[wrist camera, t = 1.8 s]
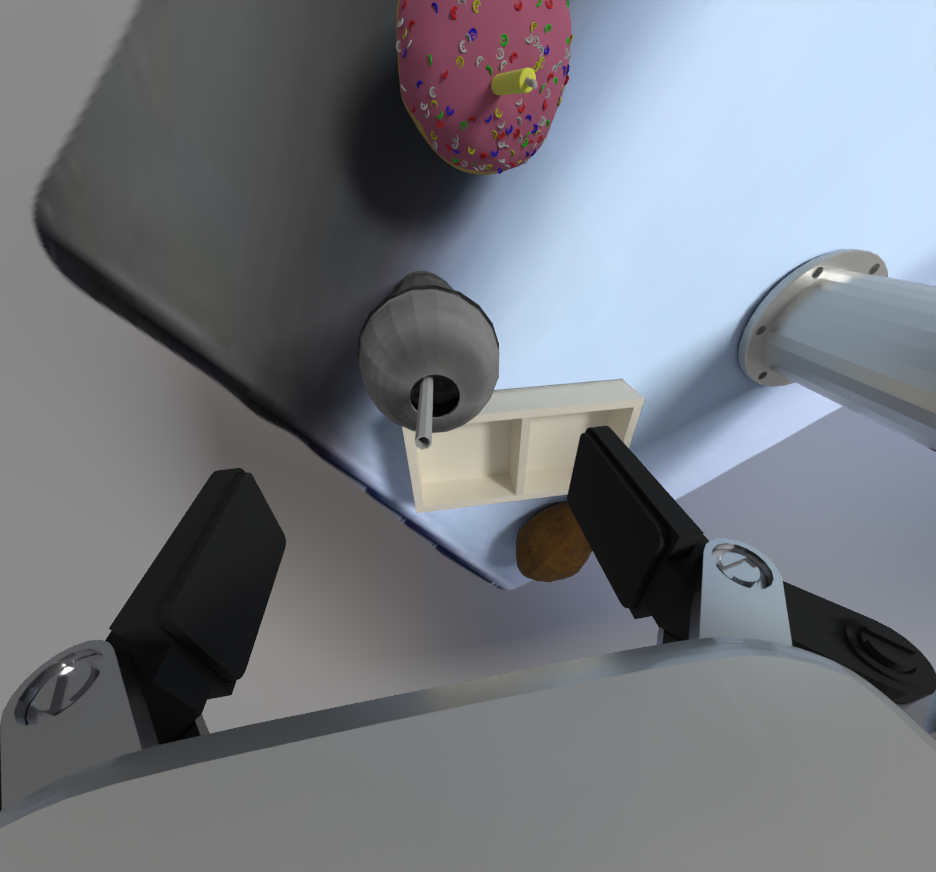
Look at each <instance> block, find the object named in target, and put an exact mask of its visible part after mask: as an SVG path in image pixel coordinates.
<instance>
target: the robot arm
mask: <svg viewBox="0 0 936 872" xmlns="http://www.w3.org/2000/svg"><path fill="white" fill-rule="evenodd" d="M738 356H739V364H740V367H741V369H742V371H743V373H744V374H745V375H746V376H747V377H748V378H750V379H752V380H753V381H755V382H757V383H759V384H762V385H764V386H773V387H774V386H784V385H788V384H792V383H798V384H800V385H802V386H804V387H806V388H808V389H810V390H812V391H814V392H816V393H818V394H820V395H822V396H824V397H826V398H828V399H830V400H832V401H834V402H836V403H838V404H840V405H842V406H844V407H846V408H848V409H850V410H852V411H854V412H856V413H858V414H860V415H862V416H864V417H867V418H868V419H870V420H872V421H875V422H877V423H879V424H881V425H883V426H885V427H887V428H889V429H891V430H893V431H895V432H897V433H899V434H901V435H903V436H905V437H907V438H909V439H911V440H913V441H915V442H917V443H919V444H921V445H923V446H925V447H927V448H929V449H931V450H933V451H935V452H936V286H933V285H927V284H922V283H916V282H911V281H905V280H899V279H894V278H888V270H887V268H886V265H885V263H884V261H883V260H882V259H881V258H880V257H879V256H878V255H877V254H874V253H872V252H869V251H864V250H857V249H842V250H837V251H833V252H829V253H826V254H824V255H821V256H819V257H817V258H815V259H812V260H810V261H809V262H807V263H806V264H804V265H802V266H801V267H799V268H797V269H796V270H795V271H793V272H792V273H791V274H790V275H788V276H787V277H786V278H784V279H783V280H782V281H781V282H780V283H779V284H778V285H777V286H776V287H775V288H774V289H773V290H772V291H771V292H770V293H769V294H768V295H767V296H766V297H765V298H764V300H763V301H762V302H761V303H760V304H759V306H758V307H757V309H756V310H755V312H754V313H753V315H752V316H751V318H750V320H749V322H748V324H747V326H746V328H745V330H744V332H743V335H742V338H741V341H740V346H739V353H738ZM567 500H568V505H569V507H570V509H571V511H572V513H573V515H574V517H575V519H576V520H577V522H578V524H579V526H580V528H581V530H582V532H583V534H584V535H585V537H586V539H587V541H588V543H589V545H590V547H591V549H592V550H593V552H594V554H595V556H596V558H597V560H598V562H599V564H600V565H601V567H602V569H603V571H604V573H605V575H606V577H607V579H608V580H609V582H610V584H611V586H612V588H613V590H614V592H615V594H616V595H617V597H618V599H619V601H620V603H621V604H622V605H623V606H624V607H625V608H629V609H630V611H631V613H632V615H633V617H634V618H635V619H638V618H643V617H649V616H653V618H654V620H655V621H656V623H657V625H658V626H659V630H658V637H657V644H656V645H654V646H648V647H642V648H637V649H631V650H625V651H620V652H614V653H609V654H603V655H599V656H593V657H588V658H583V659H578V660H572V661H567V662H562V663H558V664H552V665H547V666H541V667H536V668H532V669H526V670H521V671H516V672H510V673H505V674H501V675H495V676H490V677H486V678H480V679H475V680H470V681H465V682H460V683H455V684H450V685H445V686H440V687H435V688H430V689H425V690H420V691H415V692H409V693H405V694H400V695H394V696H390V697H385V698H379V699H374V700H370V701H364V702H360V703H355V704H350V705H345V706H340V707H335V708H330V709H325V710H320V711H316V712H310V713H306V714H301V715H296V716H291V717H286V718H281V719H276V720H271V721H266V722H261V723H256V724H252V725H247V726H243V727H238V728H234V729H229V730H225V731H220V732H215V733H211V734H210V733H209V731H208V728H207V726H206V724H205V721H204V719H203V716H202V711H203V709H204V706H205V704H206V701H207V699H212V698H218V697H223V696H228V695H232V692H233V689H234V686H235V683H236V680H238V679H240V678H241V677H242V676H243V674H244V672H245V670H246V667H247V665H248V661H249V658H250V655H251V652H252V649H253V646H254V642H255V640H256V636H257V634H258V630H259V627H260V624H261V621H262V618H263V615H264V612H265V609H266V606H267V603H268V600H269V596H270V593H271V590H272V587H273V584H274V581H275V578H276V575H277V571H278V568H279V565H280V562H281V559H282V556H283V553H284V550H285V546H286V539H285V535H284V533H283V532H282V529H281V527H280V526H279V524H278V522H277V520H276V518H275V517H274V514H273V513H272V511H271V509H270V507H269V505H268V504H267V501H266V500H265V498H264V496H263V494H262V492H261V490H260V488H259V487H258V485H257V483H256V481H255V479H254V477H253V476H252V474H251V473H245V471H244V470H243V469H241V468H236V469H227V470H218V471H215V472H214V473H213V474H212V475H211V476H210V478H209V479H208V481H207V482H206V484H205V485H204V487H203V488H202V490H201V491H200V493H199V494H198V496H197V497H196V499H195V500H194V502H193V503H192V505H191V506H190V508H189V509H188V511H187V512H186V514H185V515H184V517H183V518H182V520H181V521H180V523H179V524H178V526H177V527H176V529H175V530H174V532H173V533H172V535H171V536H170V538H169V539H168V541H167V542H166V544H165V545H164V547H163V548H162V550H161V551H160V553H159V554H158V556H157V557H156V559H155V560H154V562H153V563H152V565H151V566H150V568H149V569H148V571H147V572H146V574H145V575H144V577H143V578H142V580H141V581H140V583H139V584H138V586H137V587H136V589H135V590H134V592H133V593H132V595H131V596H130V598H129V599H128V601H127V602H126V604H125V605H124V607H123V608H122V610H121V611H120V613H119V614H118V616H117V617H116V619H115V620H114V622H113V623H112V625H111V626H110V628H109V629H111V630H112V631H111V633H110V634H109V636H108V637H107V639H106V640H105V641H103V640H92V641H86V642H83V643H80V644H78V645H74V646H73V647H70V648H68V649H66V650H64V651H63V652H61V653H59V654H57V655H56V656H54V657H53V658H51V659H50V660H48V661H47V662H45V663H44V664H43V665H41V666H40V667H39V668H38V669H37V670H35V671H34V672H33V673H32V674H31V675H30V676H29V677H28V678H27V679H25V680H24V682H23V683H22V684H21V685H20V686H19V688H18V689H17V690H16V691H15V692H14V694H13V695H12V696H11V698H10V699H9V701H8V703H7V705H6V707H5V708H4V710H3V713H2V718H1V723H0V872H936V673H935V671H934V669H933V667H932V665H931V664H930V662H929V661H928V660H927V659H926V657H924V655H923V654H922V653H921V652H920V651H919V650H918V649H917V648H916V647H915V646H914V645H913V644H912V643H910V642H909V641H908V640H907V639H906V638H904V637H903V636H901V635H900V634H898V633H897V632H895V631H894V630H893V629H891V628H889V627H887V626H885V625H883V624H881V623H879V622H877V621H875V620H873V619H871V618H868V617H866V616H864V615H861V614H859V613H857V612H854V611H852V610H850V609H847V608H845V607H843V606H840V605H838V604H835V603H833V602H831V601H828V600H826V599H824V598H821V597H819V596H816V595H814V594H812V593H809V592H807V591H805V590H803V589H800V588H797V587H796V586H793V585H791V584H789V583H786V582H784V581H783V580H782V577H781V575H780V572H779V570H778V569H777V568H776V566H775V565H774V564H773V562H772V561H771V560H770V559H769V558H767V557H766V556H765V555H764V554H763V553H762V552H760V551H758V550H757V549H755V548H754V547H752V546H750V545H748V544H746V543H743V542H741V541H738V540H734V539H730V538H717V539H713V540H711V541H709V540H708V539H707V538H706V537H705V536H704V535H703V532H702V531H701V530H700V528H699V527H698V526H697V525H696V524H695V523H694V522H693V520H692V519H691V518H690V517H689V516H688V515H687V514H686V513H685V512H684V510H683V509H682V508H681V507H680V506H679V505H678V504H677V502H676V501H675V500H674V499H673V498H672V497H671V496H670V495H669V493H668V492H667V491H666V490H665V489H664V488H663V487H662V485H661V484H660V483H659V482H658V481H657V480H656V479H655V478H654V476H653V475H652V474H651V473H650V472H649V471H648V470H647V469H646V467H645V466H644V465H643V464H642V463H641V462H640V461H639V460H638V458H637V457H636V456H635V455H634V454H633V453H632V452H631V450H630V449H629V448H628V447H627V446H626V445H625V444H624V443H623V441H622V440H621V439H620V438H619V437H618V436H617V435H616V434H615V432H614V431H613V430H612V429H611V428H610V427H609V426H598V427H589V428H587V429H586V431H585V433H582V434H581V435H580V439H579V443H578V448H577V453H576V458H575V462H574V467H573V472H572V476H571V481H570V486H569V490H568V495H567Z"/></svg>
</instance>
